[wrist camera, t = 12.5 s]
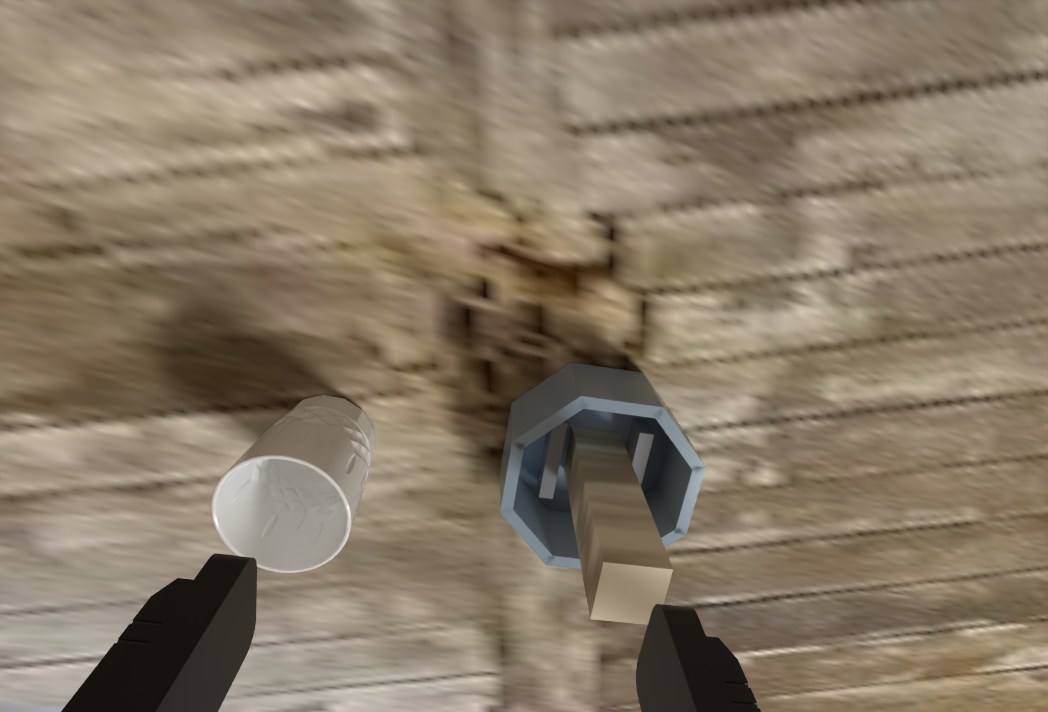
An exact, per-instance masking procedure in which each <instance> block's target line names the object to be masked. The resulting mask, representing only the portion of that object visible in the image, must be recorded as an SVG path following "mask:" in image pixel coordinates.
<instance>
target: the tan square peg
mask: <svg viewBox="0 0 1048 712" xmlns="http://www.w3.org/2000/svg"><path fill="white" fill-rule="evenodd" d="M564 473H565V478H566V484H567V490H568V495H569V501H570V507H571V512H572V518H573V524H574V529H575V535H576V540H577V546H578V552H579V557H580V563H581V569H582V574H583V580H584V586H585V591H586V597H587V603H588V608H589V614H590V619H596V620H606V621H616V622H626V623H636V624H647V625H648V623H649V619H650V616H651V612H652V609H653V607H654V606H655V605H656V604H664V601H665V597H666V594H667V590H668V586H669V583H670V579H671V576H672V572H673V568H672V565H671V563H670V560H669V558H668V555H667V552H666V550H665V547H664V545H663V542H662V540H661V537H660V535H659V532H658V529H657V527H656V524H655V522H654V519H653V517H652V514H651V512H650V509H649V506H648V504H647V501H646V499H645V496H644V494H643V491H642V489H641V486H640V483H639V481H638V478H637V476H636V473H635V471H634V468H633V466H632V463H631V460H630V458H629V455H628V453H627V450H626V448H625V445H624V443H623V440H622V437H621V435H620V432H618V431H610V430H601V429H593V428H585V427H577V426H572V428H571V433H570V438H569V443H568V449H567V454H566V459H565V464H564Z"/></svg>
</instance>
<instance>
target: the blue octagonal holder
mask: <svg viewBox="0 0 1048 712" xmlns="http://www.w3.org/2000/svg"><path fill="white" fill-rule="evenodd" d="M572 426H577V427H585V428H593V429H601V430H610V431H618V432H620V435H621V437H622V440H623V443H624V445H625V448H626V450H627V453H628V455H629V458H630V460H631V463H632V466H633V468H634V471H635V473H636V476H637V478H638V481H639V483H640V486H641V489H642V491H643V494H644V496H645V499H646V501H647V504H648V506H649V509H650V512H651V514H652V517H653V519H654V522H655V524H656V527H657V529H658V532H659V535H660V537H661V540H662V542H663V545H664V547H666V546H668V545H670V544H671V543H673V542H675V541H676V540H678V539H680V538H681V537H683V536H685V535H686V533H687V529H688V526H689V523H690V519H691V516H692V512H693V509H694V506H695V502H696V499H697V495H698V492H699V489H700V485H701V482H702V478H703V475H704V472H705V468H706V466H705V465H704V463H703V462H702V460H701V458H700V457H699V455H698V453H697V452H696V450H695V449H694V447H693V445H692V444H691V442H690V440H689V439H688V437H687V436H686V434H685V432H684V431H683V429H682V427H681V426H680V424H679V423H678V422H677V420H676V419H675V417H674V416H673V414H672V413H671V412H670V410H669V409H668V407H667V406H666V405H665V403H664V402H663V400H662V399H661V397H660V396H659V395H658V393H657V392H656V390H655V389H654V388H653V386H652V385H651V383H650V382H649V380H648V379H647V378H646V376H645V375H644V373H643V372H636V371H628V370H621V369H614V368H607V367H600V366H593V365H586V364H579V363H572V362H571V363H569V364H568V365H566V366H565V367H563V368H562V369H560V370H559V371H557V372H556V373H555V374H553V375H552V376H550V377H549V378H547V379H546V380H544V381H543V382H541V383H540V384H538V385H537V386H535V387H534V388H532V389H531V390H529V391H528V392H527V393H525V394H524V395H522V396H521V397H519V398H518V399H516V400H515V401H513V402H512V403H511V408H510V414H509V420H508V426H507V432H506V438H505V444H504V450H503V456H502V462H501V483H500V513H501V514H502V515H503V516H504V518H505V519H506V520H507V521H508V522H509V523H510V524H511V526H512V527H513V528H514V529H515V530H516V531H517V532H518V534H519V535H520V536H521V537H522V538H523V539H524V540H525V542H526V543H527V544H528V545H529V546H530V547H531V548H532V550H533V551H534V552H535V553H536V554H537V555H538V557H539V558H540V559H541V560H542V561H543V562H544V563H545V565H551V566H559V567H568V568H577V569H581V563H580V557H579V552H578V546H577V540H576V535H575V529H574V524H573V518H572V512H571V507H570V501H569V495H568V490H567V484H566V478H565V473H564V464H565V459H566V454H567V449H568V443H569V438H570V433H571V428H572Z"/></svg>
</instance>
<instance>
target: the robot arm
mask: <svg viewBox="0 0 1048 712" xmlns="http://www.w3.org/2000/svg"><path fill="white" fill-rule="evenodd" d="M256 591H257V562H256V559H255V558H252V557H243V556H234V555H225V554H213V555H212V556H211V557H210V558H209V559H208V561H207V562H206V564H205V565H204V566H203V568H202V569H201V571H200V572H199V573H198V575H197V576H196V578H195V579H194V580H190V579H181V578H177V579H176V580H174V581H173V582H171V583H170V584H169V585H167V586H166V587H164V588H163V589H161V590H160V591H158V592H157V593H155V594H154V595H153V596H151V597H150V599H149V600H148V601H147V602H146V604H145V605H144V606H143V608H142V609H141V610H140V611H139V613H138V614H137V615H136V616H135V618H134V619H133V623H132V624H129V625H128V627H127V628H126V629H125V631H124V632H123V633H122V634H121V636H120V637H119V638H118V642H117V643H114V645H113V646H112V647H111V648H110V650H109V651H108V652H107V654H106V655H105V656H104V657H103V659H102V660H101V661H100V663H99V664H98V665H97V666H96V668H95V669H94V670H93V672H92V673H91V674H90V675H89V677H88V678H87V679H86V680H85V682H84V683H83V684H82V686H81V687H80V688H79V689H78V691H77V692H76V693H75V695H74V696H73V697H72V698H71V700H70V701H69V702H68V703H67V705H66V706H65V707H64V709H63V710H62V711H61V712H218V710H219V708H220V706H221V704H222V702H223V700H224V698H225V696H226V694H227V692H228V690H229V688H230V686H231V684H232V682H233V681H234V679H235V677H236V675H237V673H238V671H239V669H240V667H241V665H242V663H243V661H244V659H245V657H246V655H247V653H248V650H249V648H250V645H251V642H252V638H253V634H254V630H255V624H256ZM636 686H637V694H638V698H639V703H640V707H641V711H642V712H761V711H760V709H759V708H757V702H756V699H755V697H754V695H753V693H752V691H751V688H748V682H747V679H746V677H745V675H744V673H743V670H742V668H741V666H740V664H739V662H738V659H737V658H736V657H735V656H734V655H733V654H732V653H731V651H730V650H729V649H728V648H727V647H726V646H725V645H724V643H723V642H722V641H721V640H720V639H719V638H717V637H707V636H706V635H705V633H704V630H703V628H702V625H701V623H700V620H699V618H698V615H697V613H696V611H695V610H694V609H693V608H690V607H681V606H672V605H663V604H656V605H655V606H654V607H653V609H652V612H651V616H650V619H649V623H648V626H647V630H646V633H645V637H644V640H643V644H642V647H641V651H640V654H639V658H638V662H637V669H636Z"/></svg>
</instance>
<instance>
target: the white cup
mask: <svg viewBox="0 0 1048 712" xmlns="http://www.w3.org/2000/svg"><path fill="white" fill-rule="evenodd" d="M374 450H375V436H374V427H373V426H372V424H371V423H370V421H369V419H368V418H367V416H366V415H365V413H364V412H363V410H361V409H360V408H358V407H357V406H355V405H354V404H352V403H351V402H349V401H348V400H346V399H344V398H338V397H333V396H327V395H320V396H316V397H312V398H308V399H303V400H302V401H301V402H299V403H298V404H297V405H296V406H295V407H293V408H292V409H291V410H290V411H289V412H287V413H286V415H285V416H284V417H283V418H280V419H279V420H278V421H277V422H276V423H275V424H274V425H273V426H272V427H271V428H269V429H268V430H267V431H266V432H265V433H264V434H263V435H262V436H261V437H260V438H259V439H258V440H257V441H256V442H255V443H254V444H253V445H252V446H251V447H250V448H249V449H248V450H247V451H246V452H245V453H244V454H243V456H242V457H241V458H240V459H239V460H238V461H237V462H236V463H235V464H234V465H233V466H232V467H231V468H230V469H229V470H228V471H227V472H226V473H225V474H224V475H223V476H222V478H221V479H220V480H219V482H218V483H217V485H216V487H215V490H214V492H213V496H212V501H211V513H212V519H213V523H214V525H215V528H216V530H217V532H218V534H219V536H220V537H221V539H222V540H223V542H224V543H225V544H226V545H227V546H228V547H229V548H230V549H231V550H232V551H233V552H234V553H235V554H236V555H238V556H243V557H252V558H255V559H256V562H257V567H260V568H263V569H266V570H270V571H275V572H285V573H293V572H302V571H307V570H311V569H314V568H317V567H319V566H321V565H323V564H325V563H327V562H328V561H330V560H331V559H332V558H333V557H335V556H336V555H337V554H338V553H339V551H340V550H341V549H342V548H343V546H344V545H345V543H346V541H347V539H348V536H349V533H350V530H351V527H352V524H353V521H354V518H355V515H356V512H357V509H358V506H359V503H360V500H361V497H362V494H363V490H364V486H365V483H366V480H367V476H368V473H369V467H370V461H371V458H372V455H373V452H374Z"/></svg>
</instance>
